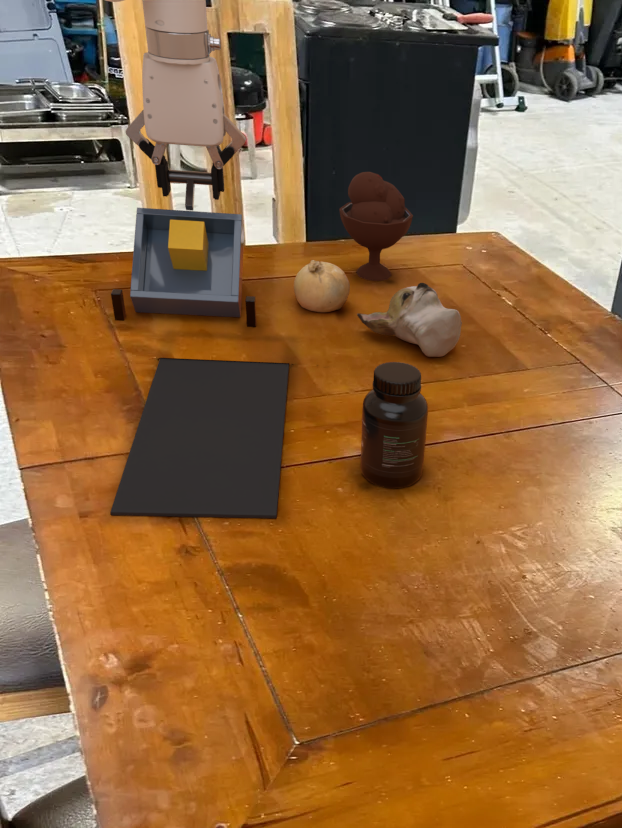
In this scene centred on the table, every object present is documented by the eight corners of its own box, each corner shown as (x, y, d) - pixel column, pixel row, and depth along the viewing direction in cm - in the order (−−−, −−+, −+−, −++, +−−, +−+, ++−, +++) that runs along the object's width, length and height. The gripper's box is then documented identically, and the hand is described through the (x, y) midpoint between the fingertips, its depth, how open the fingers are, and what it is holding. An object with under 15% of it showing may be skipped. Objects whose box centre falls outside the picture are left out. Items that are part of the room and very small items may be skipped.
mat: (110, 515, 87) (110, 512, 87) (169, 330, 118) (169, 328, 118) (276, 518, 89) (276, 515, 89) (291, 336, 120) (291, 333, 120)
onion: (296, 294, 131) (295, 246, 126) (350, 298, 132) (351, 250, 127) (292, 317, 125) (290, 267, 120) (348, 321, 126) (349, 271, 121)
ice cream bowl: (380, 293, 134) (385, 189, 125) (324, 272, 139) (325, 169, 129) (422, 275, 141) (429, 175, 131) (367, 256, 146) (370, 157, 136)
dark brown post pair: (256, 331, 121) (254, 301, 118) (115, 324, 118) (110, 293, 115) (256, 326, 122) (255, 296, 119) (117, 319, 119) (112, 288, 117)
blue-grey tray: (240, 317, 122) (237, 296, 117) (135, 312, 120) (127, 290, 115) (245, 197, 127) (242, 172, 123) (144, 190, 125) (137, 164, 121)
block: (173, 269, 122) (167, 247, 118) (175, 241, 123) (169, 219, 119) (207, 271, 123) (202, 249, 118) (208, 243, 124) (204, 221, 119)
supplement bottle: (360, 454, 100) (363, 355, 92) (420, 457, 100) (429, 358, 92) (360, 488, 94) (363, 386, 87) (423, 491, 95) (433, 390, 87)
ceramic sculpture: (426, 306, 110) (352, 272, 119) (423, 372, 115) (353, 335, 124) (487, 291, 116) (413, 259, 124) (481, 354, 121) (411, 320, 130)
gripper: (250, 45, 115) (256, 190, 127) (112, 33, 113) (131, 182, 125) (246, 57, 110) (253, 208, 122) (100, 44, 107) (122, 199, 119)
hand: (191, 193), depth 123 cm, fingers closed on blue-grey tray, 6 cm apart
